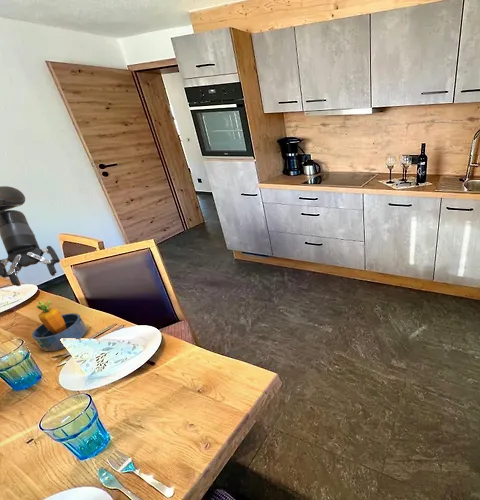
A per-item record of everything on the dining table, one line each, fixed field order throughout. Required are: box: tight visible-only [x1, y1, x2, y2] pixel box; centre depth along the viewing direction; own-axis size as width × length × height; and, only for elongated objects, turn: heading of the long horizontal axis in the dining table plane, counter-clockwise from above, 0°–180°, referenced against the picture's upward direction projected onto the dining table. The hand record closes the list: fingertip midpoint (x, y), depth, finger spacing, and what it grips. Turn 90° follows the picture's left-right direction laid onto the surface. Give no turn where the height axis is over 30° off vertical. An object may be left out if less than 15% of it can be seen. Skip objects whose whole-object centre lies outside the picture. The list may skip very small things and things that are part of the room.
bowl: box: [31, 312, 88, 352], centre depth 97 cm, size 12×12×6 cm
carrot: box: [35, 300, 67, 334], centre depth 95 cm, size 5×5×15 cm
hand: (36, 280), depth 97 cm, fingers open, 8 cm apart
